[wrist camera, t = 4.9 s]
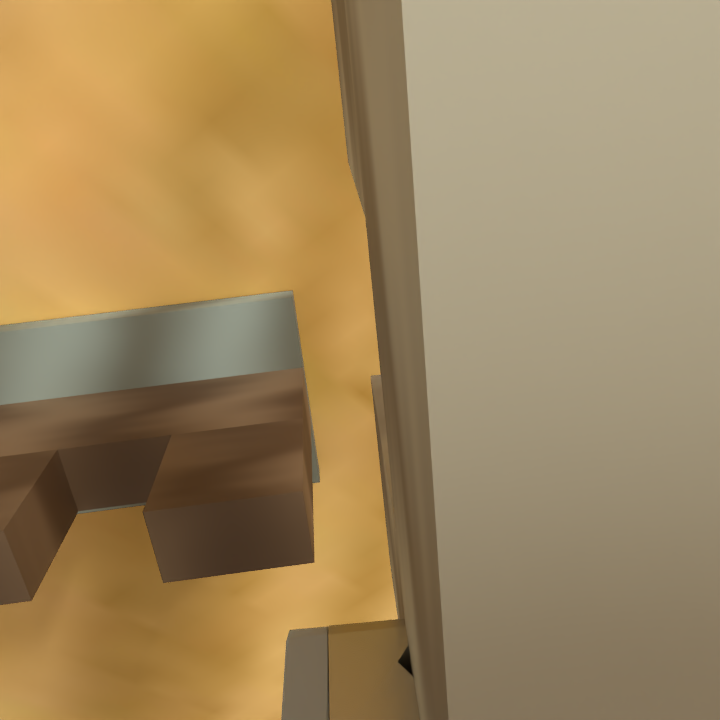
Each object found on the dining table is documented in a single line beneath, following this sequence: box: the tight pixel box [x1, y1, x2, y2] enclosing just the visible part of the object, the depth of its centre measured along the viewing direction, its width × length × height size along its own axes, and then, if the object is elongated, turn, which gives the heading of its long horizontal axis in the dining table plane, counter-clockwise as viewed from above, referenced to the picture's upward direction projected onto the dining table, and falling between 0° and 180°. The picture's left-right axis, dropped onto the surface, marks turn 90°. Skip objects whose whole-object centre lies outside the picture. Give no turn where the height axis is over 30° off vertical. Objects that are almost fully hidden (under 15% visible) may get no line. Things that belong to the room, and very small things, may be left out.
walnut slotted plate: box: [0, 291, 320, 605], centre depth 21 cm, size 12×8×9 cm, turn 96°
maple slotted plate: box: [331, 0, 720, 720], centre depth 7 cm, size 12×2×8 cm, turn 6°
